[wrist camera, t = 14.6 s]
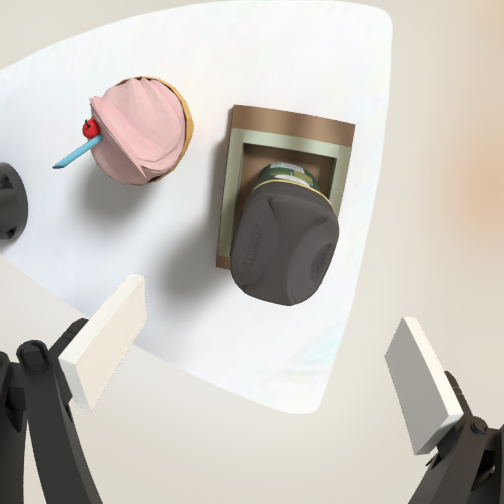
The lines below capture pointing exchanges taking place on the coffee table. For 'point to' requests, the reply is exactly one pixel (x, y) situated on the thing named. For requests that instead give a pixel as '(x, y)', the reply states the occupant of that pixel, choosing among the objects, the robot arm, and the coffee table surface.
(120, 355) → the robot arm
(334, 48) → the coffee table surface
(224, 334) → the coffee table surface
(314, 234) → the coffee jar
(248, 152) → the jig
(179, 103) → the ice cream cone
